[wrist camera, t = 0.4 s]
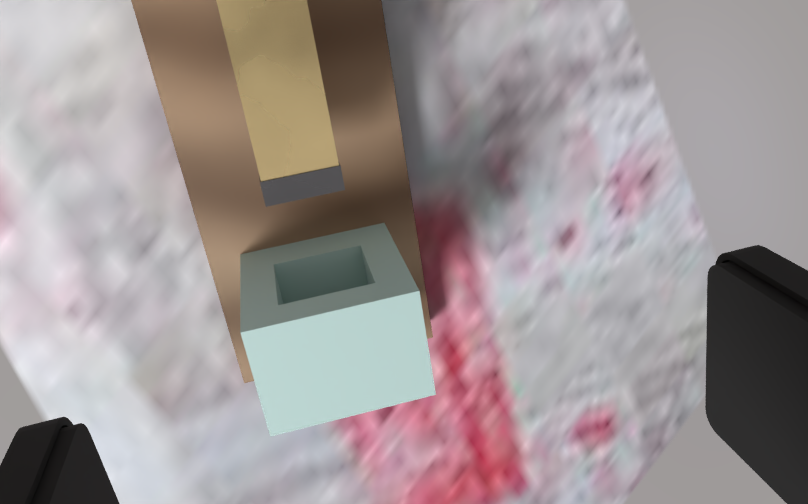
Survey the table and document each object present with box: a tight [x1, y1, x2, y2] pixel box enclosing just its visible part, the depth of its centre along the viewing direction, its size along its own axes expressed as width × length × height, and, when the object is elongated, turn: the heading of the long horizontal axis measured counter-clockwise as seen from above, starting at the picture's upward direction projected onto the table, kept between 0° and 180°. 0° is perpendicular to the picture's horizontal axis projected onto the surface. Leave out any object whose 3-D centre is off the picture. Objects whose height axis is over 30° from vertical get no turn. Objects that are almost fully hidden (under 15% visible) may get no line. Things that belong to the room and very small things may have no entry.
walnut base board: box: [131, 0, 433, 383], centre depth 30 cm, size 34×10×2 cm, turn 8°
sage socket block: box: [240, 223, 436, 437], centre depth 32 cm, size 5×7×8 cm
